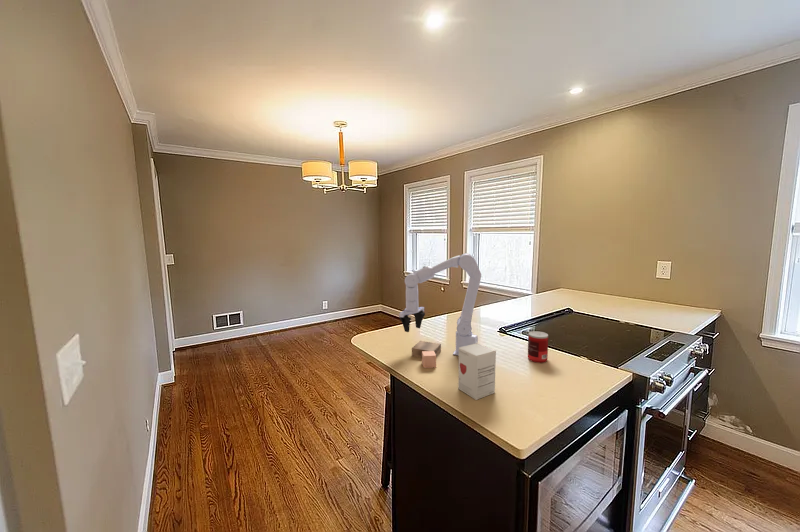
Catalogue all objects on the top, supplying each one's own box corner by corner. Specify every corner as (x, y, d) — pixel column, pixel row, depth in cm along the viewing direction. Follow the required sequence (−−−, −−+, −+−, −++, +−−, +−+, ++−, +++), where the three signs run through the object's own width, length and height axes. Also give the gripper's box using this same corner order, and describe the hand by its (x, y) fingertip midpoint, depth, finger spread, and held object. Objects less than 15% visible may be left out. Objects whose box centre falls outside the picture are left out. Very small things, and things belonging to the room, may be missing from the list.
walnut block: (440, 352, 147) (440, 343, 146) (433, 360, 138) (433, 351, 137) (420, 349, 151) (420, 340, 151) (411, 356, 142) (411, 348, 142)
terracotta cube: (433, 362, 135) (433, 350, 134) (436, 367, 130) (436, 355, 130) (421, 363, 135) (421, 351, 134) (423, 368, 130) (423, 356, 129)
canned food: (547, 357, 138) (548, 332, 137) (547, 364, 131) (548, 338, 130) (528, 354, 142) (529, 330, 140) (527, 361, 135) (527, 335, 133)
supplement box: (457, 389, 112) (457, 347, 111) (476, 382, 117) (477, 342, 115) (475, 400, 104) (476, 355, 103) (495, 393, 109) (496, 350, 107)
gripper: (416, 296, 154) (416, 324, 155) (394, 301, 144) (395, 331, 145) (427, 298, 149) (428, 327, 150) (405, 304, 139) (406, 334, 140)
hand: (412, 329), depth 147 cm, fingers open, 7 cm apart
